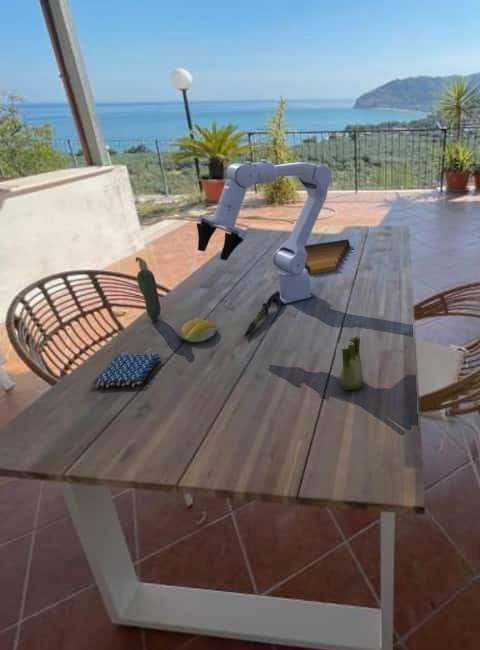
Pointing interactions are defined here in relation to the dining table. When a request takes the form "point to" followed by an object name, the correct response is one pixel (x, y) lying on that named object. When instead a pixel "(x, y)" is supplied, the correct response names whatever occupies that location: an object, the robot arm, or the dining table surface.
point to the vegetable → (148, 289)
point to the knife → (263, 311)
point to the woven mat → (127, 370)
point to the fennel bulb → (351, 365)
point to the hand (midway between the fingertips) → (212, 255)
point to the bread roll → (198, 330)
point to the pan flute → (324, 256)
